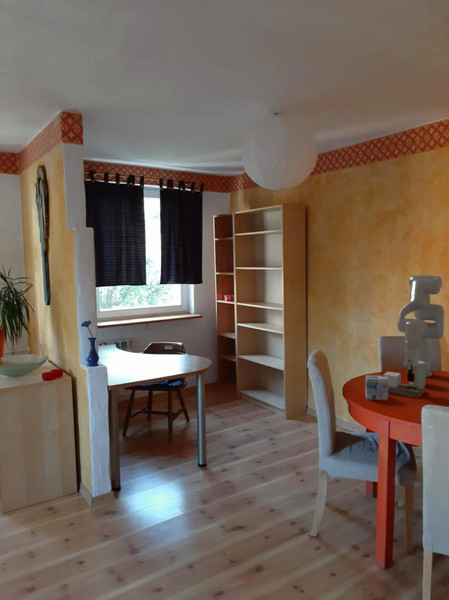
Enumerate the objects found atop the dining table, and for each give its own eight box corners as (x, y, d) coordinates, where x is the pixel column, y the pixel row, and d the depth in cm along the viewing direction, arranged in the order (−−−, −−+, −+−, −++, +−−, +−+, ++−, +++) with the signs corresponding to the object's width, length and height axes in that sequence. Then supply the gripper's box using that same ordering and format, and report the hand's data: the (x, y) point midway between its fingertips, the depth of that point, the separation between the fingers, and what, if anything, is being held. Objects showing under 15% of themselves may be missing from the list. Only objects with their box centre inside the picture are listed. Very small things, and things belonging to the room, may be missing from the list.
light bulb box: (366, 399, 231) (366, 378, 230) (364, 395, 238) (364, 375, 237) (388, 400, 229) (388, 379, 228) (386, 396, 236) (386, 375, 235)
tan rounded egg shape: (408, 380, 241) (408, 367, 240) (416, 381, 239) (416, 368, 238) (406, 382, 238) (406, 368, 237) (414, 383, 236) (415, 369, 235)
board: (385, 386, 253) (385, 381, 252) (424, 392, 241) (424, 386, 241) (378, 391, 243) (379, 386, 243) (419, 398, 231) (419, 392, 231)
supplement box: (425, 386, 251) (426, 363, 250) (411, 385, 253) (411, 363, 251) (422, 382, 258) (423, 360, 257) (408, 382, 260) (409, 360, 258)
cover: (387, 382, 249) (387, 371, 249) (400, 384, 245) (400, 373, 245) (383, 385, 244) (383, 374, 243) (397, 387, 240) (397, 376, 239)
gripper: (408, 341, 245) (408, 375, 247) (400, 347, 232) (400, 382, 234) (423, 343, 241) (423, 377, 243) (416, 348, 228) (415, 384, 229)
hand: (411, 379), depth 238 cm, fingers closed on tan rounded egg shape, 4 cm apart
